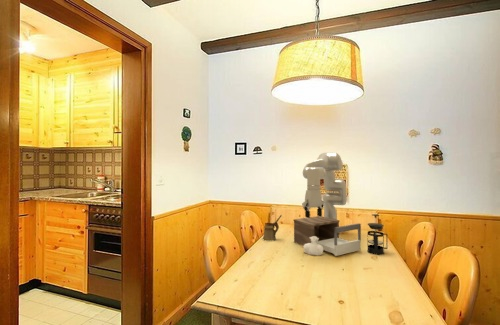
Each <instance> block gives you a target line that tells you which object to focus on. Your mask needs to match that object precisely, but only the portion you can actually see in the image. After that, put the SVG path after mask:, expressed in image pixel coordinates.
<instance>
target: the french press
mask: <svg viewBox="0 0 500 325" xmlns="http://www.w3.org/2000/svg"><path fill="white" fill-rule="evenodd" d="M371 216H374V222H369V223H367V224H366V225H367V226H369V227H368V228H370V229H371V230H368V231H367V236H371V237H373V238H372V239H367V243H368V244H367V250H366V252H367V253H368V254H371V255H376V256H382V255H384V254H385V251H384V250H388V234H387V233H384V232H383V231H382V230H383V229H384V224H382V223H377V217H379V216H380V214H376V213H374V214H371ZM380 230H381V231H380ZM384 236H386V245H385V246H386V247H385V246H384V244H385V240H384V238H385V237H384ZM381 237H382V240H379V238H381Z"/></svg>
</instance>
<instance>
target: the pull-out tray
mask: <svg viewBox="0 0 500 325" xmlns="http://www.w3.org/2000/svg"><path fill="white" fill-rule="evenodd" d="M361 227H362V223H360V222H359V223H358V222H357V223H353V224H347V225H343V226H339V227H335V228H334V238H331V239H326V240H321V241H318V242H317V241H316V242H317V244H319V245H321V246H323V248H324V250H323V251H324V252H328V253H331V254H333V256H335V257H337V256H341V255H344V254H349V253H353V252H356V251H357V252H358V251H360V250H361V248H362V247H361V245H362V242H361V240H362V239H361V236H362V234H361V232H362V230H361ZM354 230H357V239H355V240H351V241H350V240H349V239H348V240H347V239H343V238H340V237H339V238H338V237H337V233H339V234H340V233H344V232H349V231H354Z"/></svg>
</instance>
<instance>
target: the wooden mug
mask: <svg viewBox="0 0 500 325" xmlns="http://www.w3.org/2000/svg"><path fill="white" fill-rule="evenodd" d="M281 218H282V214H280V215H279V216H278V218H277V220H275V222H266V223H265V224H264V227H263V228H264V229H263V230H264V231H263V235H262V240H263V239H264V240H263V241H265V240H274V241H276V239H277V236H276V234H277V232H278V231H279V224H278V222H279V220H280V219H281Z"/></svg>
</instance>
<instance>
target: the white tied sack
mask: <svg viewBox="0 0 500 325" xmlns="http://www.w3.org/2000/svg"><path fill="white" fill-rule="evenodd" d="M309 238H310V239H311V243H307V244H305V245H304V246H303V251H304V253H305V254H307V255H309V256H315V257H316V256H322V254H323V252H324V251H325V250H324V248H323V246H321V245H319V244H317V242H318V240H319V238H317V237H316V236H312V237H309ZM316 241H317V242H316Z"/></svg>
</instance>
